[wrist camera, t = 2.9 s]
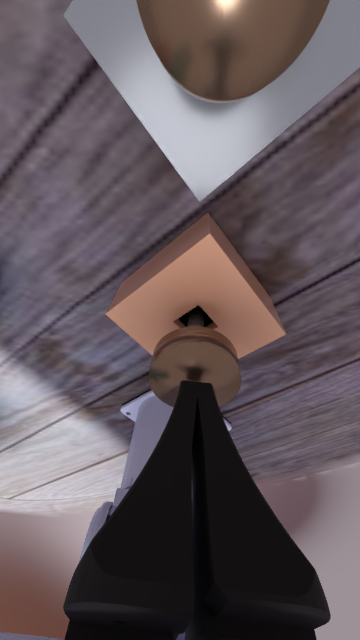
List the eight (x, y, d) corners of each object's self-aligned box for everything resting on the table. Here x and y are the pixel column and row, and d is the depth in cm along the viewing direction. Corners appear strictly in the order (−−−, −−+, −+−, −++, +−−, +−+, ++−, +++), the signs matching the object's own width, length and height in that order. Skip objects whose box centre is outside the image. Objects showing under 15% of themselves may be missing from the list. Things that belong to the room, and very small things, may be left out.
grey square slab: (329, 73, 13) (378, 51, 10) (199, 186, 17) (199, 201, 13) (240, -145, 10) (262, -302, 7) (101, 47, 13) (63, 15, 10)
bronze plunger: (243, 318, 18) (259, 389, 13) (190, 349, 20) (187, 421, 15) (202, 270, 16) (203, 330, 11) (149, 308, 18) (129, 374, 13)
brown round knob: (297, 51, 11) (380, -18, 6) (207, 137, 12) (211, 140, 8) (235, -90, 9) (278, -365, 4) (140, 33, 11) (88, -52, 6)
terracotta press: (270, 298, 21) (286, 334, 17) (188, 346, 24) (186, 386, 20) (207, 212, 17) (209, 233, 14) (122, 281, 21) (105, 314, 17)
